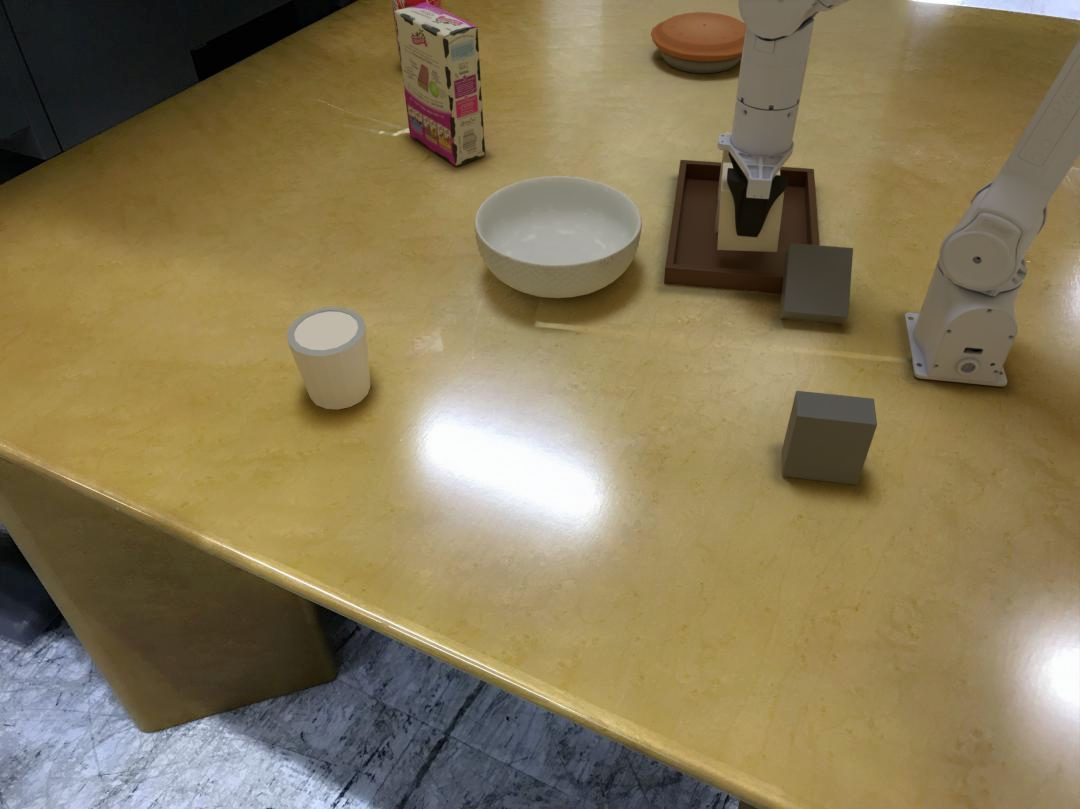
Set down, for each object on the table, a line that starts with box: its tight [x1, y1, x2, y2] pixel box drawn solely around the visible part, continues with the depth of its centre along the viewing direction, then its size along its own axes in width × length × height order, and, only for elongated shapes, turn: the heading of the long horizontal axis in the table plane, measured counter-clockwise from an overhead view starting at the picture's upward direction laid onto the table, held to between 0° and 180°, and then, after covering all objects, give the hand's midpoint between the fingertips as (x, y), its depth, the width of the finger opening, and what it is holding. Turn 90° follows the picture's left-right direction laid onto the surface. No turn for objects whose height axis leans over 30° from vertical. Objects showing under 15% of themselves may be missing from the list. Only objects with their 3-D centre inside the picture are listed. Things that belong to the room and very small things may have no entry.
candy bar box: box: [394, 2, 486, 167], centre depth 111 cm, size 11×5×16 cm, turn 39°
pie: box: [650, 11, 746, 74], centre depth 133 cm, size 16×16×5 cm
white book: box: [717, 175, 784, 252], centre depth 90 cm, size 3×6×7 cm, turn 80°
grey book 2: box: [781, 390, 878, 486], centre depth 72 cm, size 3×6×7 cm, turn 80°
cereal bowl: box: [474, 175, 643, 299], centre depth 93 cm, size 17×17×7 cm
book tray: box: [663, 159, 821, 295], centre depth 99 cm, size 23×16×3 cm
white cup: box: [286, 306, 372, 410], centre depth 81 cm, size 7×7×7 cm
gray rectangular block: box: [779, 243, 854, 325], centre depth 88 cm, size 3×6×7 cm
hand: (747, 224), depth 91 cm, fingers closed on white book, 3 cm apart
